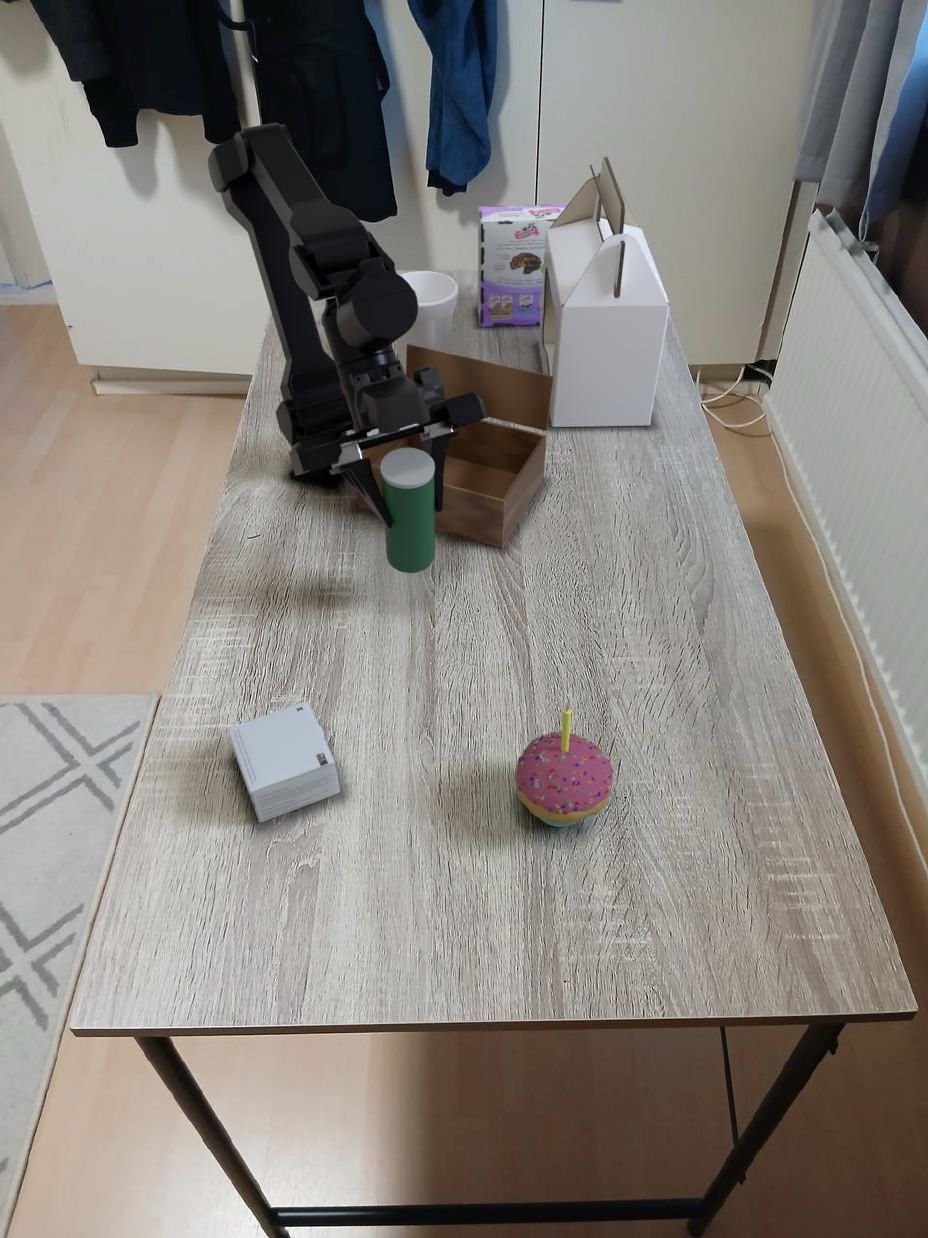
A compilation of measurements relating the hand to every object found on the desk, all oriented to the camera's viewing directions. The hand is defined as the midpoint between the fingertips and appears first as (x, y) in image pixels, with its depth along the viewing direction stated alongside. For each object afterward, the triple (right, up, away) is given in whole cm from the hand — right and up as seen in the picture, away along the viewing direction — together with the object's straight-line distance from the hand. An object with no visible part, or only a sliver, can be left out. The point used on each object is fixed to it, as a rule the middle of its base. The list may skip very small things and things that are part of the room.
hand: (414, 519), depth 90 cm
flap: (+6, +18, +21) cm, 28 cm away
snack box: (+3, +6, +24) cm, 25 cm away
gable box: (+23, +24, +41) cm, 53 cm away
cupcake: (+14, -27, -7) cm, 31 cm away
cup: (-1, +26, +43) cm, 50 cm away
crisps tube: (-1, -3, +6) cm, 7 cm away
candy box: (+14, +37, +55) cm, 68 cm away
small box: (-11, -24, -5) cm, 27 cm away
